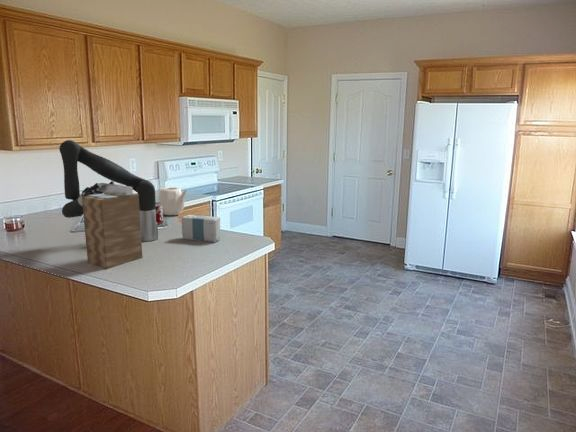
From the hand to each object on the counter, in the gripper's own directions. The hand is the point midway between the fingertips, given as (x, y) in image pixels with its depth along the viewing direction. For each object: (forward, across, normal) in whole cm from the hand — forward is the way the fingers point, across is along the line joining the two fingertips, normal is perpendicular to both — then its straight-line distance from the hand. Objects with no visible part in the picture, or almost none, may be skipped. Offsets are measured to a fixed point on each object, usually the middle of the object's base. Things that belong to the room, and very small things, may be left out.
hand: (105, 183), depth 213 cm
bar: (+3, 0, -6) cm, 7 cm away
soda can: (-47, -61, -14) cm, 79 cm away
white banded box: (-3, -47, -40) cm, 62 cm away
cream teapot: (-58, -87, -8) cm, 105 cm away
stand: (-10, +4, -36) cm, 37 cm away
